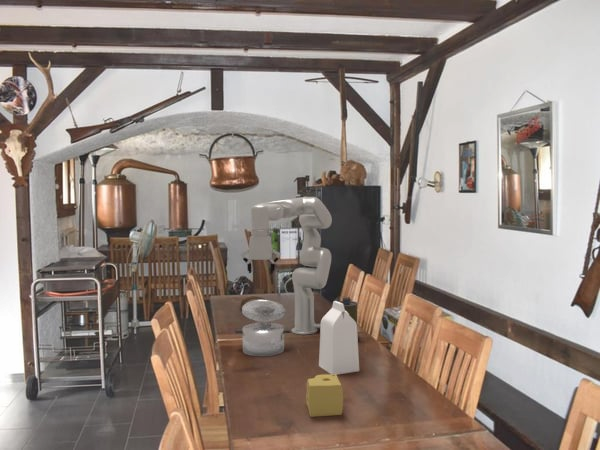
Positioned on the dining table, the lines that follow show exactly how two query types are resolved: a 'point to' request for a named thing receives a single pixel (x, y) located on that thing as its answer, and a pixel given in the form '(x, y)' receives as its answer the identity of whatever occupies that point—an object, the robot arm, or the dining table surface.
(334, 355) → the milk
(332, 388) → the cheese
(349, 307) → the canister
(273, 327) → the pot
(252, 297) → the bread
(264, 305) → the lid
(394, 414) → the dining table surface
